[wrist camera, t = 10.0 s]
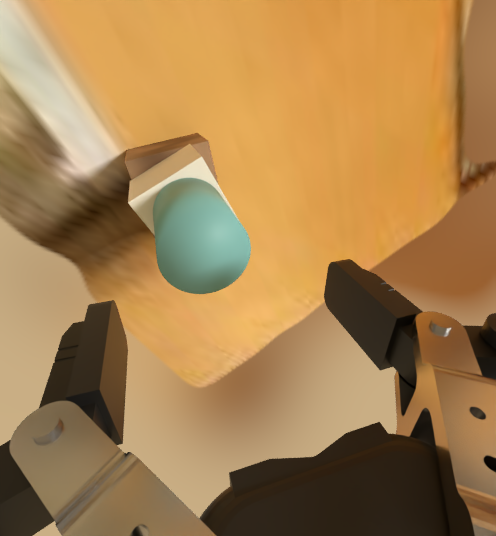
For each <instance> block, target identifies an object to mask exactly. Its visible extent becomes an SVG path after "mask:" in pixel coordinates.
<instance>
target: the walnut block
mask: <svg viewBox="0 0 496 536" xmlns="http://www.w3.org/2000/svg"><path fill="white" fill-rule="evenodd" d="M188 144H191V146H192V147H193V148H194V149H195V150H196V151H197V152H198V153H199V154H200V155H201V156H202V157H203V159H204V161H205V163H206V164H207V166H208V168H209V170H210V171H211V173H212V175H213V176H214V178H215V180H216V182H217V183H218V181H217V176H216V172H215V168H214V164H213V159H212V155H211V151H210V146H209V142H208V140H206V139H205V138H203V137H202V136H201V135H199V134H198V133H195V134H191V135H187V136H183V137H179V138H174V139H170V140H166V141H162V142H158V143H154V144H150V145H145V146H141V147H137V148H133V149H129V150H127V151H126V156H125V161H124V162H125V165H126V167H127V170H128V172H129V175H130V177H131V180H133V179H134V178H136V177H137V176H139V175H141V174H142V173H144V172H145V171H147V170H148V169H150V168H152V167H153V166H155V165H156V164H158V163H160V162H161V161H163V160H164V159H166V158H168V157H169V156H171V155H172V154H174V153H176V152H177V151H179V150H180V149H182V148H184V147H185V146H187V145H188ZM153 236H154V238H155V235H154V234H153Z"/></svg>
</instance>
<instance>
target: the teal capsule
mask: <svg viewBox="0 0 496 536" xmlns="http://www.w3.org/2000/svg"><path fill="white" fill-rule="evenodd" d="M153 221H154V232H155V243H156V254H157V263H158V266H159V269H160V271H161V273H162V275H163V277H164V278H165V279H166V280H167V281H168V282H169V283H170V284H171V285H172V286H174V287H176V288H177V289H179V290H181V291H184V292H188V293H193V294H206V293H212V292H216V291H219V290H221V289H223V288H225V287H227V286H229V285H230V284H232V283H233V282H234V281H235V280H236V279H237V278H239V276H240V275H241V274H242V273H243V271H244V270H245V268H246V266H247V264H248V261H249V258H250V251H251V246H250V240H249V237H248V234H247V232H246V230H245V228H244V227H243V226H242V224H241V223H240V221H239V220H238V219H237V217H236V216H235V214H234V213H233V212H232V210H231V209H230V207H229V206H228V205H227V203H226V202H225V200H224V199H223V198H222V196H221V195H220V193H219V192H218V191H217V190H216V189H215V188H214V187H213V186H212V185H211V184H209V183H208V182H206V181H204V180H201V179H197V178H181V179H177V180H175V181H172V182H171V183H169V184H167V185H166V186H165V187H164V188H163V189H162V190H161V191H160V192H159V194H158V195H157V197H156V199H155V202H154V205H153Z"/></svg>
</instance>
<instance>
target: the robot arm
mask: <svg viewBox="0 0 496 536" xmlns="http://www.w3.org/2000/svg"><path fill="white" fill-rule="evenodd" d="M324 298H325V303H326V305H327V307H328V309H329V310H330V311H331V313H332V314H333V315H334V316H335V317H336V319H337V320H338V321H339V322H340V323H341V324H342V325H343V327H344V328H345V329H346V330H347V331H348V333H349V334H350V335H351V336H352V337H353V339H354V340H355V341H356V342H357V343H358V345H359V346H360V347H361V348H362V349H363V351H364V352H365V353H366V354H367V355H368V357H369V358H370V359H371V360H372V361H373V362H374V364H375V365H376V366H377V367H378V368H379V370H383V369H386V368H390V367H394V368H395V369H396V370H397V371H396V374H395V378H394V379H395V396H396V413H397V430H396V434H388V433H387V432H386V430H385V429H384V427H383V426H382V425H381V423H380V422H378V423H375V424H372V425H369V426H366V427H363V428H360V429H357V430H354V431H351V432H348V433H346V434H344V435H343V436H342V437H341V438H339V439H338V440H337V441H335V442H334V443H333V444H331V445H330V446H329V447H327V448H326V449H325V450H324V451H322V452H321V453H319V454H318V455H316V456H314V457H305V458H285V459H284V458H283V459H269V460H266V461H263V462H260V463H257V464H254V465H251V466H248V467H245V468H242V469H239V470H236V471H233V472H230V473H229V475H230V487H229V488H228V489H226V490H225V491H224V492H223V493H221V494H220V495H219V496H218V497H217V498H216V499H215V500H214V501H213V502H212V503H211V504H210V505H209V506H208V507H207V509H206V510H205V511H204V512H203V514H202V516H201V517H200V518H198V517H197V516H196V515H195V514H194V513H193V512H192V511H191V510H190V509H189V508H188V507H187V506H186V505H185V504H184V503H183V502H182V501H181V500H180V499H179V498H178V497H177V496H176V495H175V494H174V493H173V492H172V491H171V490H170V489H169V488H168V487H167V486H166V485H165V484H164V483H163V482H162V481H161V480H160V479H159V478H158V477H157V476H156V475H155V474H154V473H153V472H152V471H151V470H150V469H148V467H147V466H146V465H145V464H144V463H143V462H142V461H141V460H140V459H139V458H138V457H136V456H135V455H134V454H132V453H131V452H128V453H127V454H126V453H124V452H123V451H122V450H121V449H120V448H119V447H118V446H117V445H119V444H122V443H123V426H124V409H125V408H124V407H125V391H126V372H127V355H128V348H127V340H126V335H125V332H124V328H123V325H122V322H121V319H120V315H119V312H118V309H117V306H116V303H115V301H114V300H112V301H107V302H101V303H96V304H90V305H89V306H88V309H87V313H86V317H85V321H82V322H78V323H73V324H72V325H71V327H70V328H69V329H68V330H67V331H66V332H65V333H64V335H63V336H62V339H61V342H60V345H59V348H58V352H57V354H56V357H55V363H53V366H52V369H51V372H50V376H49V379H48V382H47V385H46V388H45V391H44V394H43V397H42V401H41V404H40V407H39V409H37V410H36V411H34V412H33V413H31V414H30V415H29V416H27V417H26V418H25V420H23V421H22V422H21V424H20V425H19V426H18V427H17V429H16V430H15V432H14V434H13V436H12V438H11V440H9V441H8V442H6V443H5V444H3V445H1V446H0V536H32V535H34V534H35V533H37V532H38V531H40V530H41V529H43V528H44V527H46V526H47V525H49V524H51V523H52V522H53V521H55V522H56V527H57V528H58V530H59V532H60V533H61V535H62V536H496V313H494V314H491V315H489V316H488V317H487V319H486V321H485V323H484V325H483V326H463V325H462V324H461V323H459V322H458V321H457V320H455V319H454V318H452V317H450V316H447V315H445V314H442V313H438V312H422V311H421V310H420V309H419V308H418V307H416V306H415V305H414V304H413V303H411V302H410V301H409V300H407V299H406V298H405V297H404V296H402V295H401V294H400V293H399V292H397V291H396V290H395V291H394V288H392V287H391V286H390V285H388V284H386V282H385V281H384V280H382V279H381V278H380V277H378V276H377V275H376V274H374V273H371V272H369V271H367V270H365V269H362V268H361V267H360V266H358V265H357V264H356V263H355V262H354V261H352V260H350V259H347V260H341V261H336V262H331V263H330V264H329V267H328V273H327V279H326V286H325V293H324Z"/></svg>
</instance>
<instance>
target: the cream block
mask: <svg viewBox="0 0 496 536" xmlns="http://www.w3.org/2000/svg"><path fill="white" fill-rule="evenodd" d="M181 178H197V179H201V180H204V181H206V182H208V183H209V184H211V185H212V186H213V187H214V188H215V189H216V190H217V191H218V192H219V193H220V195H221V196H222V198H223V199H224V200H225V202H226V203H227V205H228V206H229V207H230V209H231V210H232V212H233V213H234V211H233V209H232V208H231V206H230V204H229V202H228V201H227V199H226V197H225V196H224V194H223V192H222V190H221V189H220V187H219V185H218V183H217V182H216V180H215V178H214V176H213V175H212V173H211V171H210V170H209V168H208V166H207V164H206V163H205V161H204V159H203V157H202V156H201V155H200V154H199V153H198V152H197V151H196V150H195V149H194V148H193V147H192V146H191V144H188V145H187V146H185V147H184V148H182V149H180V150H179V151H177V152H176V153H174V154H172V155H171V156H169V157H168V158H166V159H164V160H163V161H161V162H160V163H158V164H156V165H155V166H153V167H152V168H150V169H148V170H147V171H145V172H144V173H142V174H141V175H139V176H137V177H136V178H134V179H133V180H131V181H130V186H129V196H128V204H129V205H130V206H131V207H132V208H133V210H134V211H135V212H136V213H137V215H138V216H139V217H140V218H141V220H142V221H143V222H144V223H145V224H146V226H147V227H148V228H149V229H150V231H151V232H152V233H153V234H154V235H155V232H154V221H153V205H154V202H155V199H156V197H157V195H158V194H159V192H160V191H161V190H162V189H163V188H164V187H165V186H166V185H167V184H169V183H171V182H172V181H175V180H177V179H181ZM234 214H235V213H234ZM235 216H236V215H235ZM236 217H237V216H236ZM237 219H238V218H237Z"/></svg>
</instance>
